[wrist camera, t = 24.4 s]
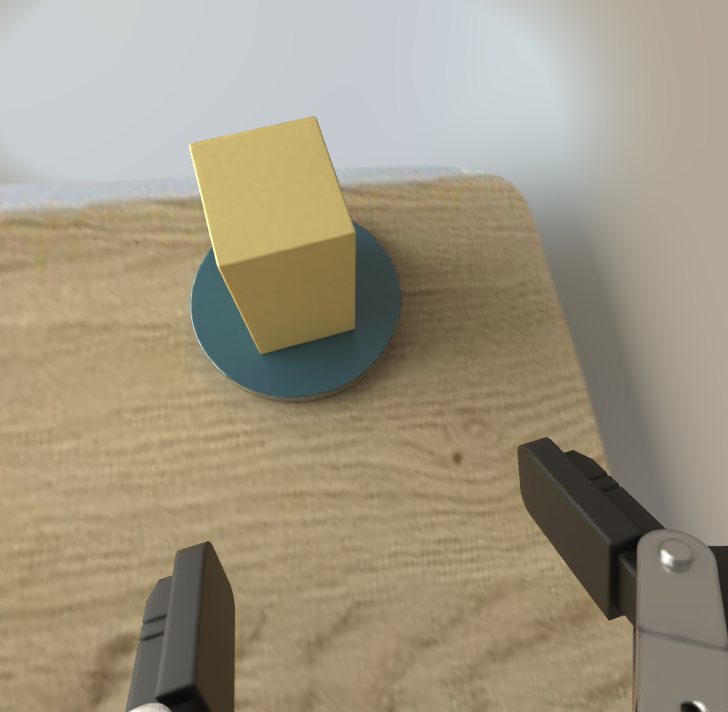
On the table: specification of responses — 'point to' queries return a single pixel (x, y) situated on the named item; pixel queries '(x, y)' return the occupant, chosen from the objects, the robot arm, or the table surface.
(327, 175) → the butter slice
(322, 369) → the plate
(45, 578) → the table surface
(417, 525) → the table surface
